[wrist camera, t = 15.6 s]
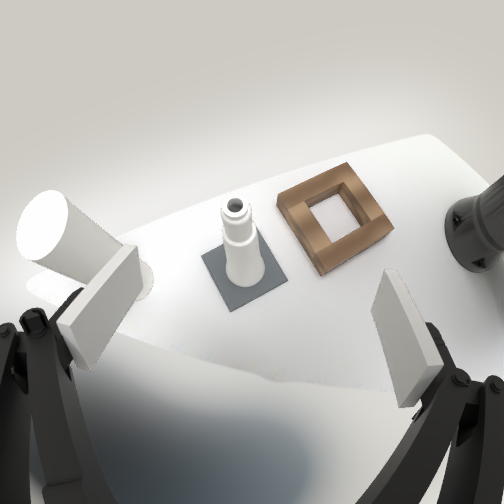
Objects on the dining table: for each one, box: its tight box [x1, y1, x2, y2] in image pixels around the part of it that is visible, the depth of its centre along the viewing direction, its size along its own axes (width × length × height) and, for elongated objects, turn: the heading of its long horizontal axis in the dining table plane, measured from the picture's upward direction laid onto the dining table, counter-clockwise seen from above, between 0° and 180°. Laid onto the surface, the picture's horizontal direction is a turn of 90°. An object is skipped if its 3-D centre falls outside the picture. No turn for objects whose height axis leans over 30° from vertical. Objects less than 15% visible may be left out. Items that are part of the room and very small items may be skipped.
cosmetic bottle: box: [221, 194, 265, 287], centre depth 35 cm, size 6×6×22 cm
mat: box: [201, 227, 288, 312], centre depth 46 cm, size 10×10×1 cm
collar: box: [277, 162, 394, 276], centre depth 47 cm, size 14×14×4 cm
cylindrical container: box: [17, 190, 154, 301], centre depth 34 cm, size 7×7×25 cm
